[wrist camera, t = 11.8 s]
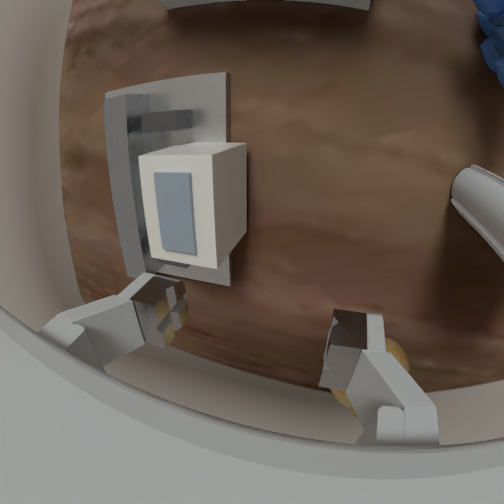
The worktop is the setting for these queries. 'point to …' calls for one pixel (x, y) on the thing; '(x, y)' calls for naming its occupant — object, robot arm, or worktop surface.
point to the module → (195, 201)
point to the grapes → (492, 34)
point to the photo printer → (481, 204)
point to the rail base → (156, 138)
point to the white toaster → (349, 0)
